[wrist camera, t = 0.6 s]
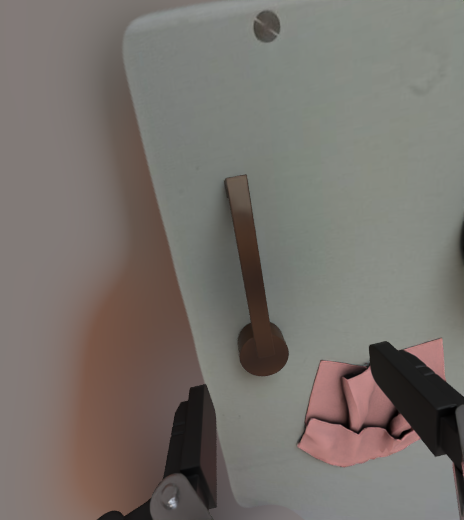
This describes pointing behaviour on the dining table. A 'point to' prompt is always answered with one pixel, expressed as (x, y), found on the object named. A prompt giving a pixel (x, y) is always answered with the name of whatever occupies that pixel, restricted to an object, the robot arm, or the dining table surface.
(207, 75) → the dining table surface
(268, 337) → the ladle
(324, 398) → the cloth
